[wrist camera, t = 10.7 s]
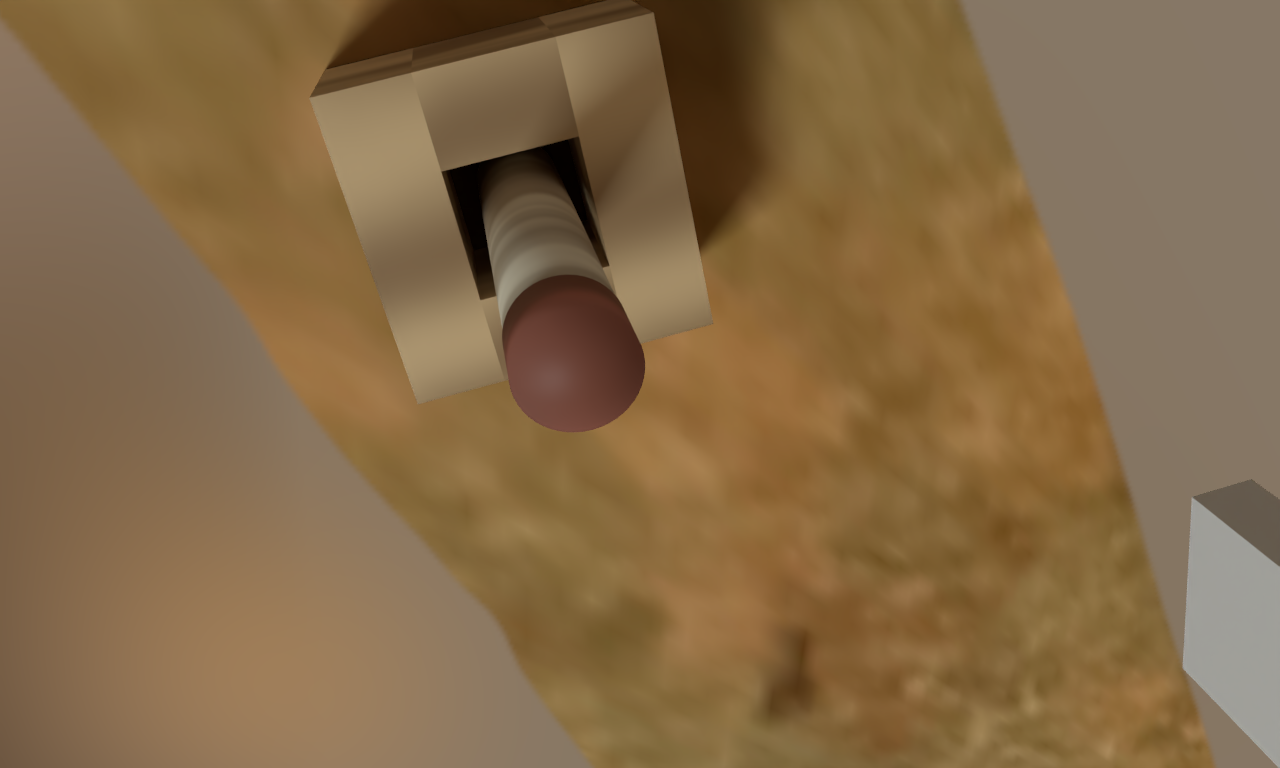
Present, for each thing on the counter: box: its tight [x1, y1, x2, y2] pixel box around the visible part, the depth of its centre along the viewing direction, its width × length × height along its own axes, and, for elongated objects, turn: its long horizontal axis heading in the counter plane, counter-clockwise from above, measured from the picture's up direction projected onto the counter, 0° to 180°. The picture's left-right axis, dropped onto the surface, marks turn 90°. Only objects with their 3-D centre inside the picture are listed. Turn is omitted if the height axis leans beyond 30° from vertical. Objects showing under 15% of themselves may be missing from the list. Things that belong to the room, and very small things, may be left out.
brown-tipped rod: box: [477, 147, 645, 432], centre depth 29 cm, size 3×3×16 cm
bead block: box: [310, 0, 713, 404], centre depth 34 cm, size 10×10×5 cm
